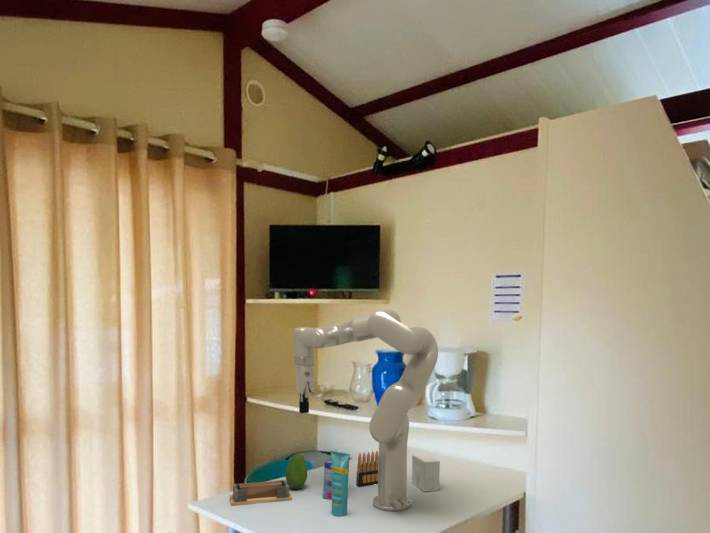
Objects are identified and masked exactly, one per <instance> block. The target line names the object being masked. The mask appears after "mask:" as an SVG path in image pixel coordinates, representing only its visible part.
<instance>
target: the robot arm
mask: <svg viewBox="0 0 710 533" xmlns="http://www.w3.org/2000/svg"><path fill="white" fill-rule="evenodd" d="M376 338H377V339H379V340H381V341H382V342H384V343H386V344H387V345H388V346H390V347H391V348H393V349H395V350H396V351H398V352H399V353H402V354H405V355H408V356H409V355H410V356H411V355H412V356H411V358H410V360H409V361H408V363H407V364H406V366H405V368H404V371H403V372H402V375H401V377H400V379H399V380H398V381H397V382H394V383H393V384H391V385H390V386H388V387H387V389H385V391H384V392H383V394H382V396H381V398H380V400H379V402H378V404H377V406H376V409H375V411H374V413H373V415H372V416H371V419H370V421H369V427H368V428H369V433H370V435H371V438H372V439H373V440H374V441H375V442H377V443H378V484H377V495H376V496H375V497H373V499H372V505H373V506H374V507H375V508H377V509H381V510H383V511H388V512H389V511H390V512H399V511H405V510H407V509H409V508H410V507H411V506H412V500H411V499H410V498H409V497H408V496H407V480H408V478H407V475H408V474H407V472H408V471H407V470H408V469H407V468H408V467H407V466H408V460H407V459H408V440H409V430H410V421H409V417H408V413H409V411H410V410H412V409H414V407H416V406H418V404H419V402H420V399H421V397H422V395H423V393H424V391H425V388H426V387H427V384H428V382H429V381H430V378H431V376H432V374H433V372H434V369H435V367H436V364H437V362H438V357H439V347H438V343H437V340H436V338H435V337H434V335H433V334H432V332H430V331H429V330H428V329H426V328H425V327H423V326H414V327H409V326H408V325H406V324H404V323H403V322H402V321H401V316H400V315H399V314H398V312H396V311H395V310H392V309H379V310H376V311H374V312H372V313H369V314H365V315H359V316H355V317H353V318H352V319H351V320H349V321H346V322H343V323H338V324H333V325H329V326H328V325H326V326H320V327H317V326H316V327H309V326H307V327H305V326H301V327H298V326H297V327H295V328H294V329H293V366H294V367H295V390H296V391H297V392H298V398H299V400H298V404H299V405H298V406H299V407H298V408H299V409H298V410H299V411H298V412H299V413H300V414H309V413H310V394H312V395H313V394H314V393H315V376H314V367H313V366H315V349H319V350H320V349H325V348H330V347H331V348H332V347H336V346H341V345H344V344H349V343H353V342H357V343H359V342H362V341H363V342H364V341H367V340H372V339H376Z"/></svg>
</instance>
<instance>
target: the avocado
mask: <svg viewBox="0 0 710 533" xmlns="http://www.w3.org/2000/svg"><path fill="white" fill-rule="evenodd" d="M285 480H286V481H287V483H288V485H289V489H294V490H299V489H301V488H302V487H304V485H305V484H306V482H307V480H308V467H307V463H306V459H305V457H304V455H303V454H300V453H296V454H294V455H292V457H291V458H290V460H289V461H288V465H287V466H286V470H285Z"/></svg>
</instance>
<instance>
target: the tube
mask: <svg viewBox="0 0 710 533" xmlns="http://www.w3.org/2000/svg"><path fill="white" fill-rule="evenodd" d="M350 457H351V454H350V453H345V452H342V453H341V451H340V452H338V451H335V450H332V449H331V450H330V459H331V463H332V499H331V514H332V515H333V516H337V517H344V516H347V514H348V495H349V494H348V492H349V477H350V476H349V472H350V469H349V468H350V460H351V458H350Z"/></svg>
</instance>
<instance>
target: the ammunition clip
mask: <svg viewBox="0 0 710 533" xmlns="http://www.w3.org/2000/svg"><path fill="white" fill-rule="evenodd" d="M378 454H379V450H376V451H375V453H374V451H373V450H371V455H370V451H368V452H367V454H366V452H365V451H364V452H363V454H361V452H359V454H358V456H357V471H356V481H355V486H356V487H357V488H362V487H368V486H374V484H376V485H378ZM366 455H367V456H366Z"/></svg>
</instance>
